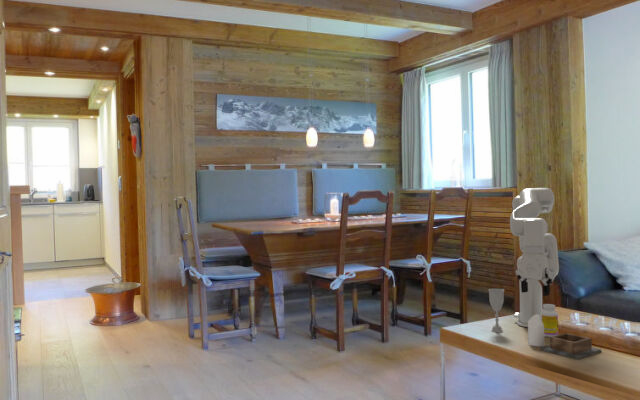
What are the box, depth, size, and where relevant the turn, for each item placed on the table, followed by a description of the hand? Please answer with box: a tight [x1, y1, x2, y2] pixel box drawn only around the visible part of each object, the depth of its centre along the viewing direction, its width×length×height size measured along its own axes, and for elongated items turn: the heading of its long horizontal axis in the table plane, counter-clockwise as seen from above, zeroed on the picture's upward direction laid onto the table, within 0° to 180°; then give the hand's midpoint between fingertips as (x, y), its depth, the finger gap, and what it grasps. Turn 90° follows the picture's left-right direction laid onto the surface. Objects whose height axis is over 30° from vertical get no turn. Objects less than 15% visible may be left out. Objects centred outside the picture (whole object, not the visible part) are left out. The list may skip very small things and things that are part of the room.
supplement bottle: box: [541, 303, 559, 338], centre depth 225 cm, size 7×7×13 cm
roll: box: [527, 314, 545, 347], centre depth 212 cm, size 6×12×6 cm
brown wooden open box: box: [540, 332, 602, 360], centre depth 203 cm, size 15×15×5 cm
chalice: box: [487, 288, 505, 333], centre depth 234 cm, size 7×7×18 cm
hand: (535, 293), depth 212 cm, fingers open, 9 cm apart
